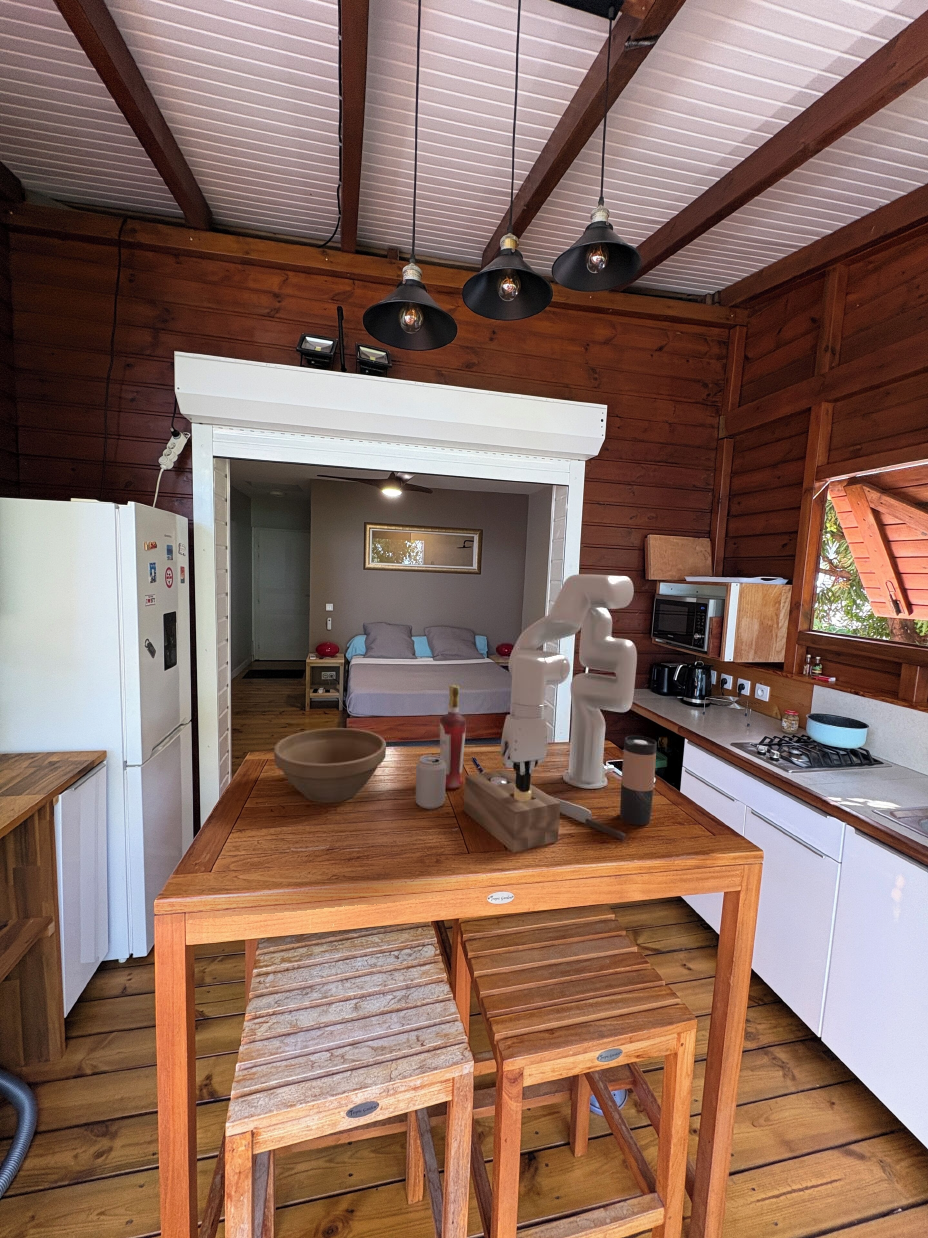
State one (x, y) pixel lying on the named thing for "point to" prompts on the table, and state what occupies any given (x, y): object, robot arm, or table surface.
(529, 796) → the brass peg
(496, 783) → the steel peg
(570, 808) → the kitchen knife
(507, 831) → the socket block
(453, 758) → the liquor
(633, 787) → the travel mug
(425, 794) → the can
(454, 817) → the table surface
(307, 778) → the brown mixing bowl
